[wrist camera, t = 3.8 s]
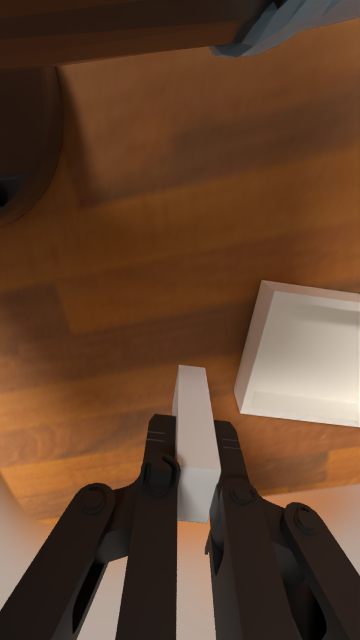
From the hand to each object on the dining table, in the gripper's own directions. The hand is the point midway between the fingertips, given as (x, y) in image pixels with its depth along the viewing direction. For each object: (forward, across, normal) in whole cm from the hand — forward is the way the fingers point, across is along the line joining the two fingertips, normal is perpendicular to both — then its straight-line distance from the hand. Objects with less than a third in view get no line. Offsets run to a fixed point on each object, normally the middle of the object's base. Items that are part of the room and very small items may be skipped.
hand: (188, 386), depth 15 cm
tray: (+7, +11, 0) cm, 13 cm away
